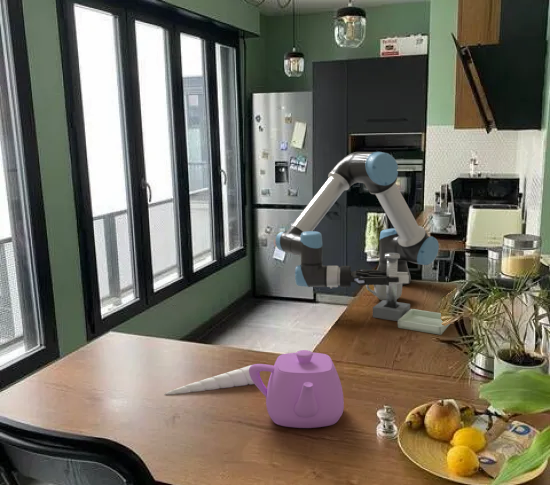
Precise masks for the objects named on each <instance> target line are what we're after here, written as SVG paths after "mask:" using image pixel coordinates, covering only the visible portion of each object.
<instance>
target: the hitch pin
mask: <svg viewBox="0 0 550 485" xmlns="http://www.w3.org/2000/svg"><path fill="white" fill-rule="evenodd" d="M385 258H386V259H387V276H389V275H397V265H398V259H400V254H399V253H385ZM397 300H398V299H397V283H389V286H387V285H386V307H390V308H397V302H398V301H397Z"/></svg>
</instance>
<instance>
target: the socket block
mask: <svg viewBox="0 0 550 485" xmlns="http://www.w3.org/2000/svg"><path fill="white" fill-rule="evenodd" d="M410 309H411V304H410V303H405V302H398V301H397V308H390V307H386V300H380V301H379V302H378V303H377V304H376V305H374V306H373V307H372V318H377V319H381V320H386V321H387V320H388V321H395V322H398V320H399V319H400V318H401V317H402V316H403V315H405V314H406V313H407V312H408V311H409V310H410Z"/></svg>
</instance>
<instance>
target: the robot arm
mask: <svg viewBox="0 0 550 485" xmlns="http://www.w3.org/2000/svg"><path fill="white" fill-rule="evenodd" d="M398 174H399V166H398V162H397V160H396V159H395V157H394V156H392V154H390V153H388V152H384V151H383V152H382V151H355V152H351V153H350V154H347V155H346V156H345V157H344V158H342V159H341V160H339V162H337V164H336V165H334V167H333V168H332V169H331V171H330V172H329V173H328V176H327V177H328V178H327V180H326V181H325V182H324V183H323V185H322V186H321V188H319V190H318V191H317V192H316V194H314V196H313V197H312V199H311V200H310V201H309V203H308V204H307V205H306V206H305V207H304V209H303V210H302V211H301V213H300V214H299V216H298V217H297V218H296V219H295V220H294V222H293V223H292V224H291V226H290V227H289V228H288V229H287V230H285V231H284V230H283V231H280V232H279V233H277V235H276V236H275V239H274V241H275V247H276V248H277V249H278V251H281V252H283V253H285V254H292V255H294V256H298V257H300V264H299V265H298V264H297V265H296V266H295V272H294V281H295V282H294V283H295V284H296V286H298V287H307V288H330V289H333V288H338V287H340V288H351V287H352V286H351V285H352V283H355V284H357V285H358V286H366V285H369V286H374V285H387V286H389V283H402V286H405V285H409V284H410V283H411V274H410V270H409V268H408V263H412V264H416V265H420V266H421V265H422V266H423V265H424V266H427V265H430V264H433V262H434V261H435V259H436V258H437V256H438V253H439V246H440V245H439V241H438V239H437V238H436V237H434V236H429V235H428V233H427V231H426V229H425V227H424V226H422V225H419V224H418V222H417V221H416V219H415V217H414V215H413V213H412V211H411V209H410V207H409V205H408V204H407V202H406V200H405V198H404V196H403V194H402V193H401V190H400V188H399V187H398V185H397V182H398ZM357 183H358V184H363V185H364V186H365V187H366V189H367V190H368V192H369V193H370V194H371V195H375V196H376V199H378V201H379V204H380V205H381V207H382V210H384V213H385V214H386V216H387V217H388V219H389V221H390V223H391V225H392V226H393V228H385V229H383V230H382V229H381V231H380V234H379V240H378V242H379V247H378V248H379V255H378V257H379V258H378V259H379V260H378V261H379V262H378V265H377V269H363V268H362V269H361V268H358V269H357V270H355V271H352V268H351V266H350V265H340V267H339V265H323V236H322V233H321V232H319V231H314V230H315V228H316V227H318V225H319V223H320V222H321V221H322V219H323V218H324V217H325V215H326V214H327V213H328V212H329V210H330V209H331V208H332V207H333V205H335V203H336V201H337V200H338V199H339V198H340V196H342V194H343V193H344V191H349V189H350V188H351V186H353V185H354V184H357ZM385 253H399V254H400V259H398V265H397V275H389V276H387V259H386V258H385Z"/></svg>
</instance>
